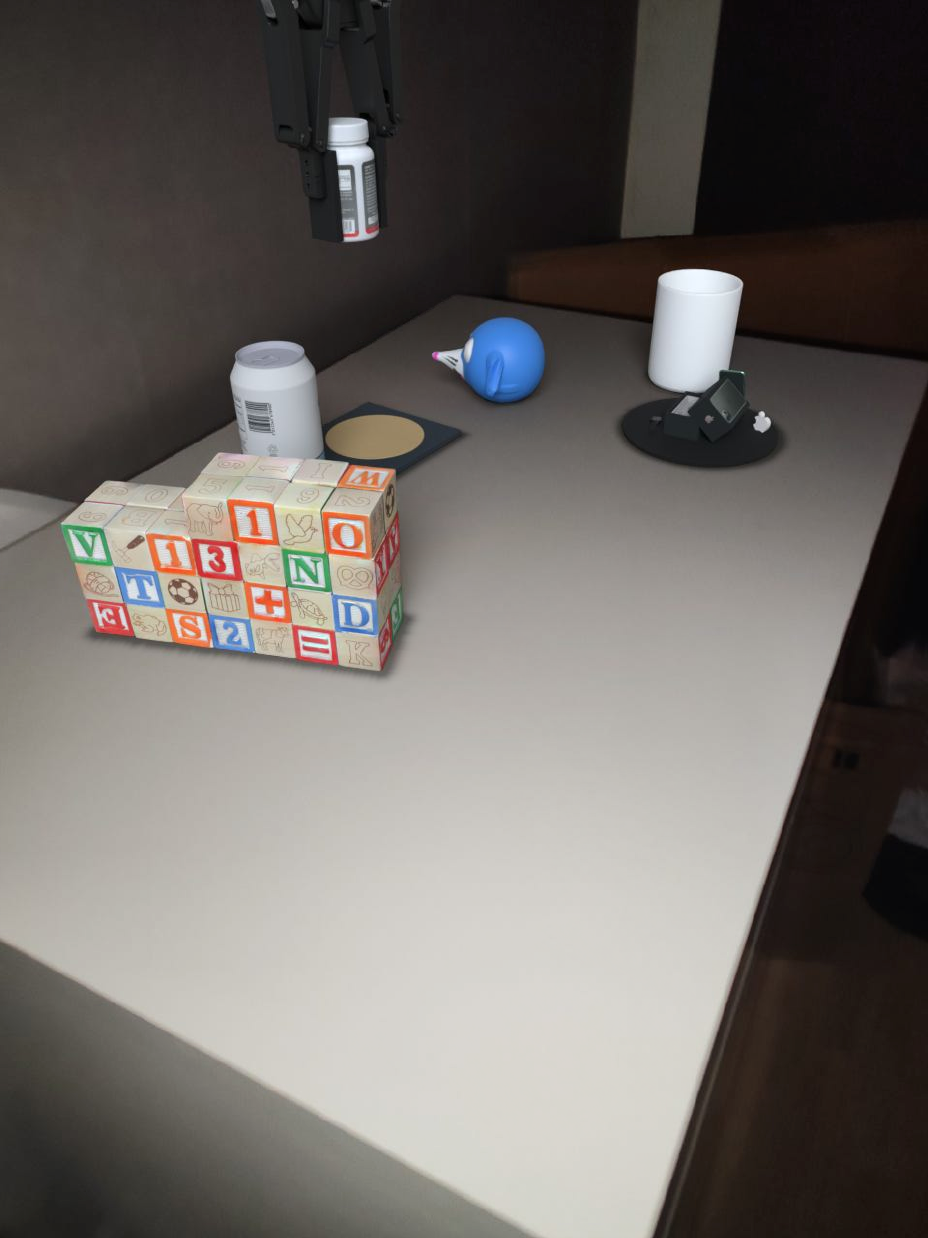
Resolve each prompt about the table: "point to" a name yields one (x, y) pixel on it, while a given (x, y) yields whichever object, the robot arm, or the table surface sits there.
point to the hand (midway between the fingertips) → (350, 231)
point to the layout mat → (383, 437)
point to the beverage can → (277, 401)
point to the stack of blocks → (248, 559)
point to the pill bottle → (355, 178)
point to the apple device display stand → (703, 426)
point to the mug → (693, 328)
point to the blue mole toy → (499, 360)
